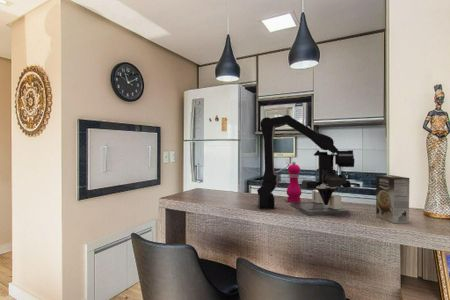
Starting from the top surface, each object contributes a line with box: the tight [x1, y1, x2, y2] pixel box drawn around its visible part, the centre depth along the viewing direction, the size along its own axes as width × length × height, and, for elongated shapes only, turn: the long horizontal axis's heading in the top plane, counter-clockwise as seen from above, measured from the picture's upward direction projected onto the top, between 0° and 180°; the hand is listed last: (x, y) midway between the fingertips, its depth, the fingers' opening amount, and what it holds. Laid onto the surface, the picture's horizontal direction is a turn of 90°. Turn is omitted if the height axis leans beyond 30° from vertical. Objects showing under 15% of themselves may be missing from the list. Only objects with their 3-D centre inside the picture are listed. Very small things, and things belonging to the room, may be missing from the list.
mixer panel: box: [289, 200, 350, 217], centre depth 109 cm, size 17×20×2 cm
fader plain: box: [311, 189, 324, 203], centre depth 116 cm, size 3×5×5 cm, turn 7°
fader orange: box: [328, 194, 342, 209], centre depth 104 cm, size 3×5×5 cm, turn 7°
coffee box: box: [375, 174, 411, 224], centre depth 93 cm, size 9×6×16 cm
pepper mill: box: [286, 160, 302, 203], centre depth 126 cm, size 7×7×20 cm
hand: (325, 204), depth 103 cm, fingers closed
